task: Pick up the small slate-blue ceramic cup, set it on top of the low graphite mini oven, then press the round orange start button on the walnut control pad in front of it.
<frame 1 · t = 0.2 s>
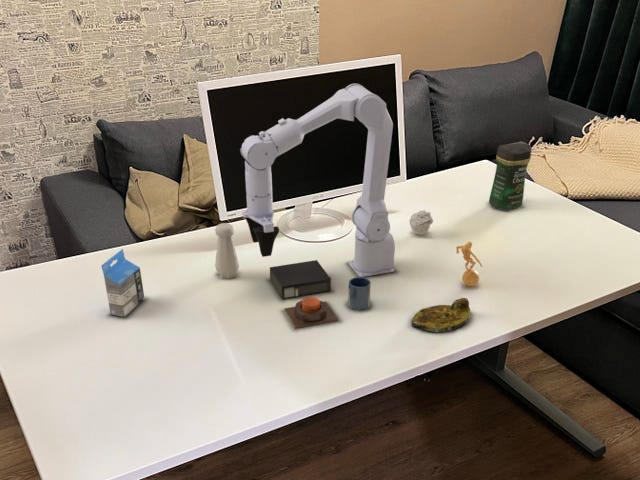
hand: (261, 248, 169), 10 cm above the table, tool pointing down, fingers open, 7 cm apart
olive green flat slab: (440, 321, 163), on the table
crumpled paper ball: (419, 234, 200), on the table
control pad: (310, 316, 164), on the table
salt shaker: (227, 275, 179), on the table
start button: (310, 304, 162), point 3 cm above the table, slide at 0.1 cm
figurine: (466, 287, 176), on the table
cup: (358, 305, 168), on the table
coffee jar: (505, 206, 217), on the table
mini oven: (300, 285, 175), on the table
blue and grey carton: (128, 307, 166), on the table
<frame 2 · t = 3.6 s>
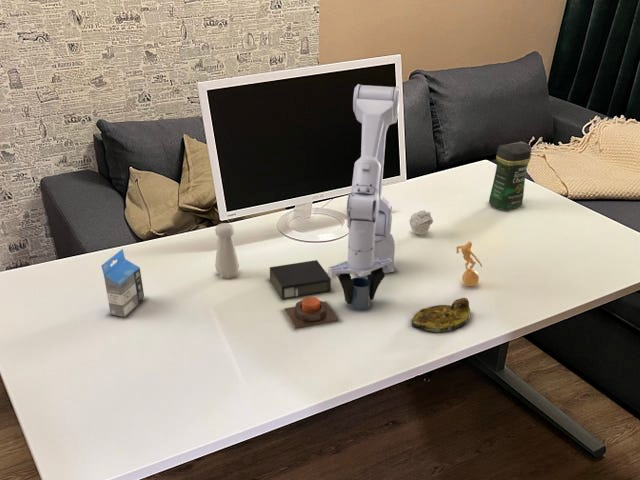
hand: (359, 300, 167), 1 cm above the table, tool pointing down, fingers closed on cup, 5 cm apart
cup: (359, 305, 168), on the table, touching gripper
everything else where it was.
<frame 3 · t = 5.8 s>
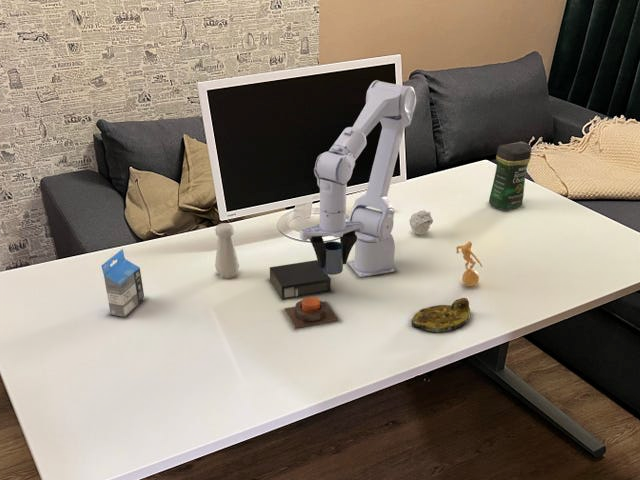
hand: (332, 264, 166), 8 cm above the table, tool pointing down, fingers closed on cup, 5 cm apart
cup: (332, 269, 167), point 7 cm above the table, touching gripper
everything else where it was.
when the fingers open (5 cm above the table, at t = 8.2 s): cup stays where it is, resting on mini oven.
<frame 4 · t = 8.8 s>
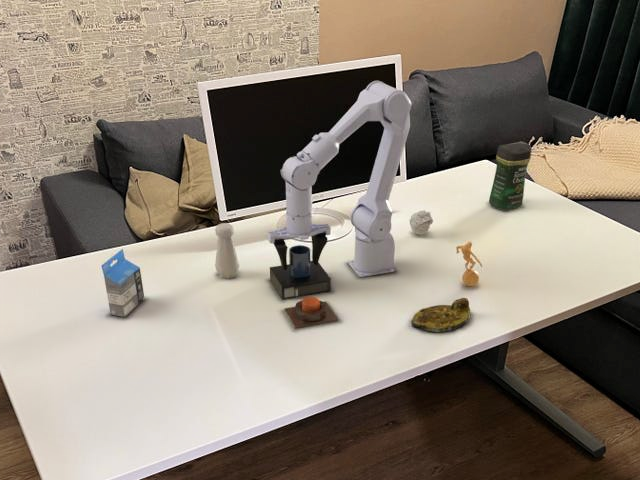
hand: (299, 265, 172), 5 cm above the table, tool pointing down, fingers open, 7 cm apart
cup: (300, 272, 173), point 3 cm above the table, touching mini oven
everything else where it was.
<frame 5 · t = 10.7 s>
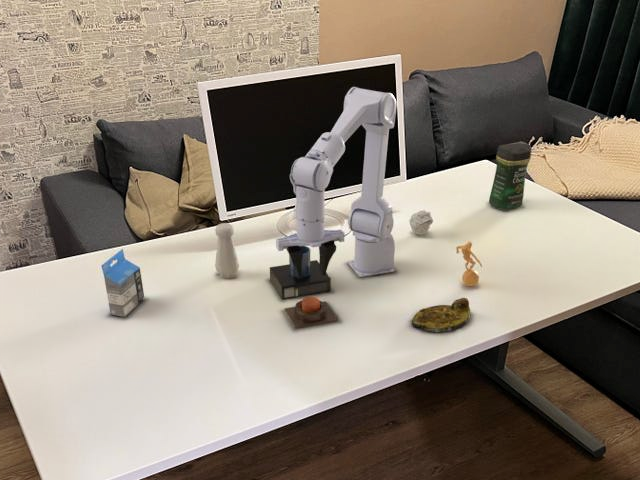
hand: (310, 275, 158), 10 cm above the table, tool pointing down, fingers open, 5 cm apart
nothing on the table moved.
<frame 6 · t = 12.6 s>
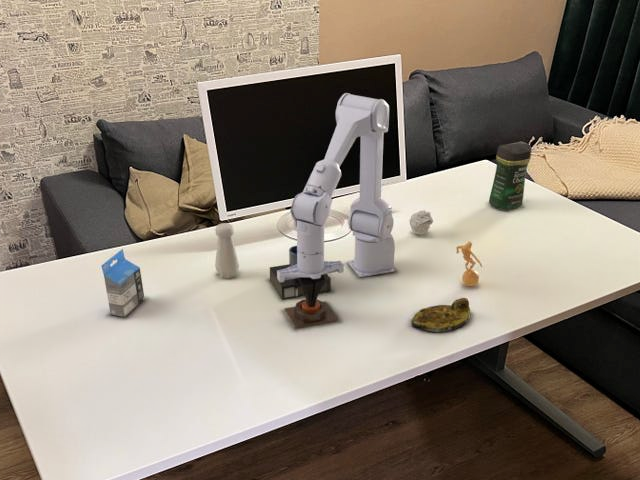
hand: (310, 304, 162), 3 cm above the table, tool pointing down, fingers closed, pressing on start button
start button: (310, 307, 163), point 2 cm above the table, slide at -0.7 cm, touching gripper
everything else where it was.
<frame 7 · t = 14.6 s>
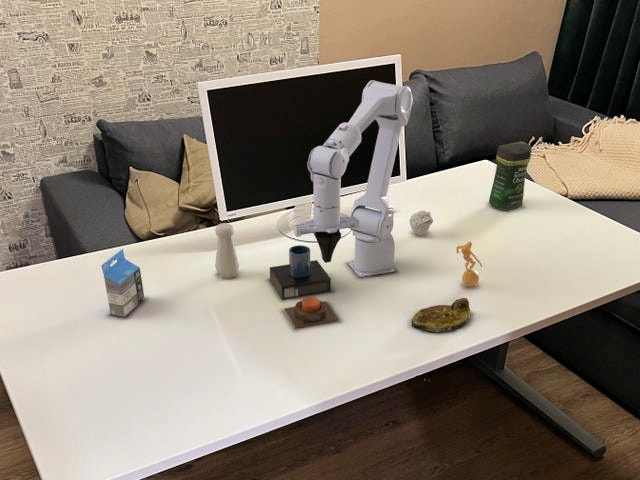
hand: (326, 260, 164), 10 cm above the table, tool pointing down, fingers closed
start button: (310, 304, 162), point 3 cm above the table, slide at 0.1 cm
everything else where it was.
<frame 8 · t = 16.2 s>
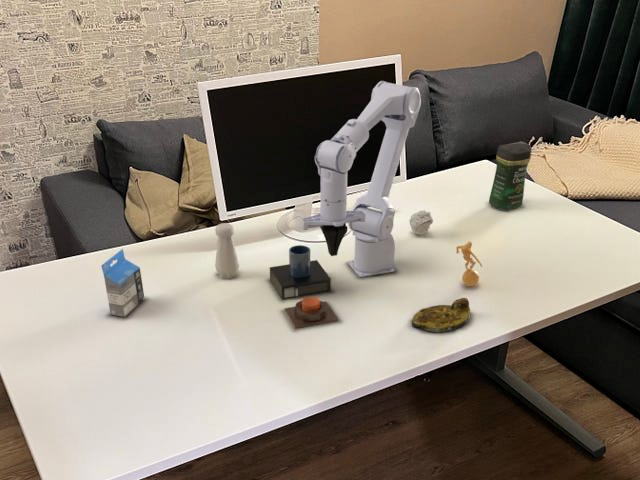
hand: (332, 253, 166), 10 cm above the table, tool pointing down, fingers closed
nothing on the table moved.
at the end: cup 0.0 cm off-centre on the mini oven, point 3.5 cm above the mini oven's base; cup tilted 0°; start button pushed in 1.2 cm at the most during the clip, back to where it started at the end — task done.
